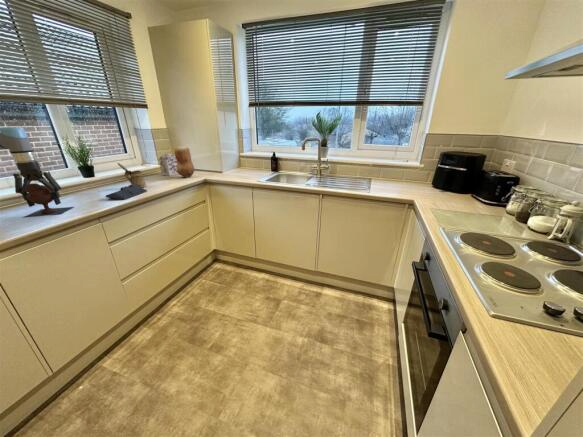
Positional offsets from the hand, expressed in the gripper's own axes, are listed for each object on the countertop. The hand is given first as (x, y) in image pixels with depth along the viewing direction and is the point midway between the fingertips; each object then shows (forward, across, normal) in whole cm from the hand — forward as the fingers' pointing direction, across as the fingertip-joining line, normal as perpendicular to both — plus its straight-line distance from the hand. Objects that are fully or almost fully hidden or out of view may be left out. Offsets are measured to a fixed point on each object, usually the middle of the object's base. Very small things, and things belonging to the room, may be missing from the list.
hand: (45, 205), depth 123 cm
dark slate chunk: (+4, -27, -26) cm, 38 cm away
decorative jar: (+4, -39, -88) cm, 96 cm away
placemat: (+4, 0, 0) cm, 4 cm away
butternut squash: (+4, -55, -72) cm, 91 cm away
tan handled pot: (+4, -25, -46) cm, 52 cm away
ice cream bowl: (+4, 0, 0) cm, 4 cm away
